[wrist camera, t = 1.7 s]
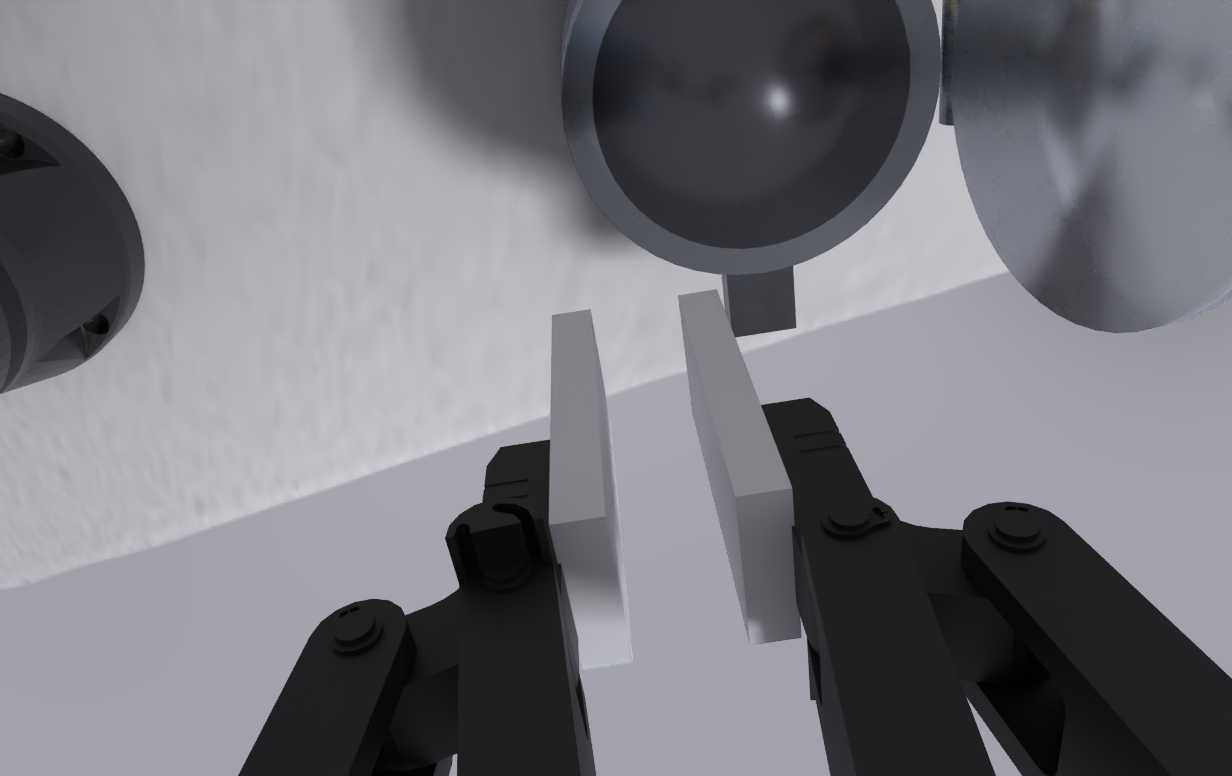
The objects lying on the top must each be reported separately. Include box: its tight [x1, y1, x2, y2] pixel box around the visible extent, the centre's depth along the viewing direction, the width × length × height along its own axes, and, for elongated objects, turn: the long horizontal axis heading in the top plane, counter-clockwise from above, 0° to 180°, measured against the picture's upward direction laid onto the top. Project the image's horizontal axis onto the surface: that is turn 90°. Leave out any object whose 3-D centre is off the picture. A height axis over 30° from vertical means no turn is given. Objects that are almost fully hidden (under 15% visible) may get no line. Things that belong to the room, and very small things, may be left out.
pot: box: [561, 0, 961, 337], centre depth 40 cm, size 17×22×10 cm
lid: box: [952, 0, 1232, 333], centre depth 29 cm, size 15×15×4 cm
